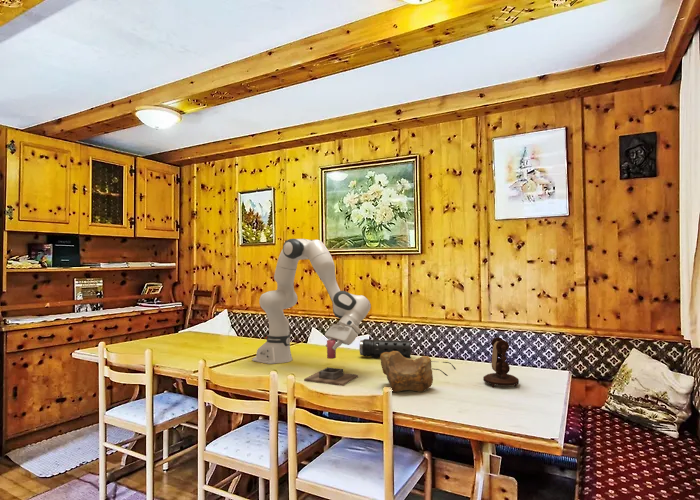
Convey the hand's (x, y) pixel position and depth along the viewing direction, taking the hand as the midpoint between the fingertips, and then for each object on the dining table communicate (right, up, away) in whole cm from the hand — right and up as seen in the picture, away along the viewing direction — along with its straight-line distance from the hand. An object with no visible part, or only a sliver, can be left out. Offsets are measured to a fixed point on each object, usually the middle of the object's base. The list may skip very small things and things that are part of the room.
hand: (330, 348), depth 205 cm
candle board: (+1, -14, 0) cm, 14 cm away
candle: (+1, -5, 0) cm, 5 cm away
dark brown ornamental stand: (+76, -13, -12) cm, 78 cm away
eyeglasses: (+51, -15, +14) cm, 55 cm away
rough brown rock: (+32, -14, -18) cm, 39 cm away
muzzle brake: (+29, -15, +42) cm, 53 cm away
